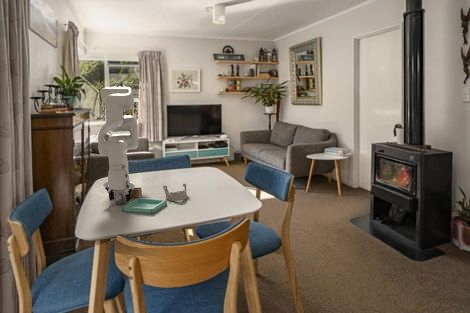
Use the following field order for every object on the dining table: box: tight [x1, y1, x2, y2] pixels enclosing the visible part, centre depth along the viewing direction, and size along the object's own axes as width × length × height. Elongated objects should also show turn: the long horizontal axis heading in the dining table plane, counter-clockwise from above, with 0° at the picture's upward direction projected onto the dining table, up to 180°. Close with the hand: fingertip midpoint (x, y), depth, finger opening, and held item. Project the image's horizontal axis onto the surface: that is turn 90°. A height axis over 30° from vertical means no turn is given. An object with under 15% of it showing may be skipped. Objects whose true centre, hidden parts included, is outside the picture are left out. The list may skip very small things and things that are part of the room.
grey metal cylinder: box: [114, 191, 126, 206], centre depth 165 cm, size 5×5×6 cm
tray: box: [121, 197, 168, 215], centre depth 159 cm, size 16×14×2 cm
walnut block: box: [131, 187, 143, 200], centre depth 175 cm, size 5×5×5 cm
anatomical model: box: [162, 183, 188, 202], centre depth 172 cm, size 13×11×10 cm
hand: (120, 200), depth 165 cm, fingers open, 9 cm apart
